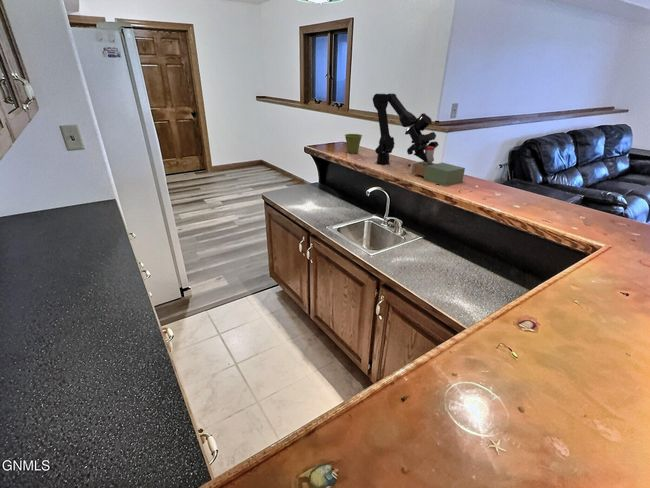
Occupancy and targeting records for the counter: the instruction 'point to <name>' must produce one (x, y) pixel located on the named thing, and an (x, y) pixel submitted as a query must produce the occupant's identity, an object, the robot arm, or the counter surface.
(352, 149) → the plant pot
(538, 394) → the counter surface
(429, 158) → the canister
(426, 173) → the cabinet
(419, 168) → the drawer
